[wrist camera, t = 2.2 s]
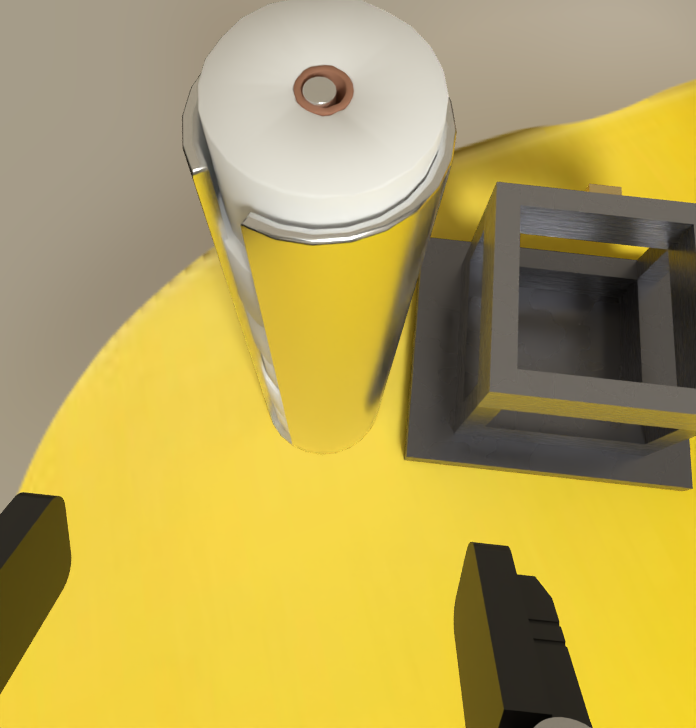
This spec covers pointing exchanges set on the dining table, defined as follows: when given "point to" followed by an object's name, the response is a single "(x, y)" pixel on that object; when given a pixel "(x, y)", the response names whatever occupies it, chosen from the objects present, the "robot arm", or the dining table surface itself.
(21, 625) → the robot arm
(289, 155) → the silver long cylinder
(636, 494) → the dining table surface
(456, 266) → the grey square holder
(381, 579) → the dining table surface
